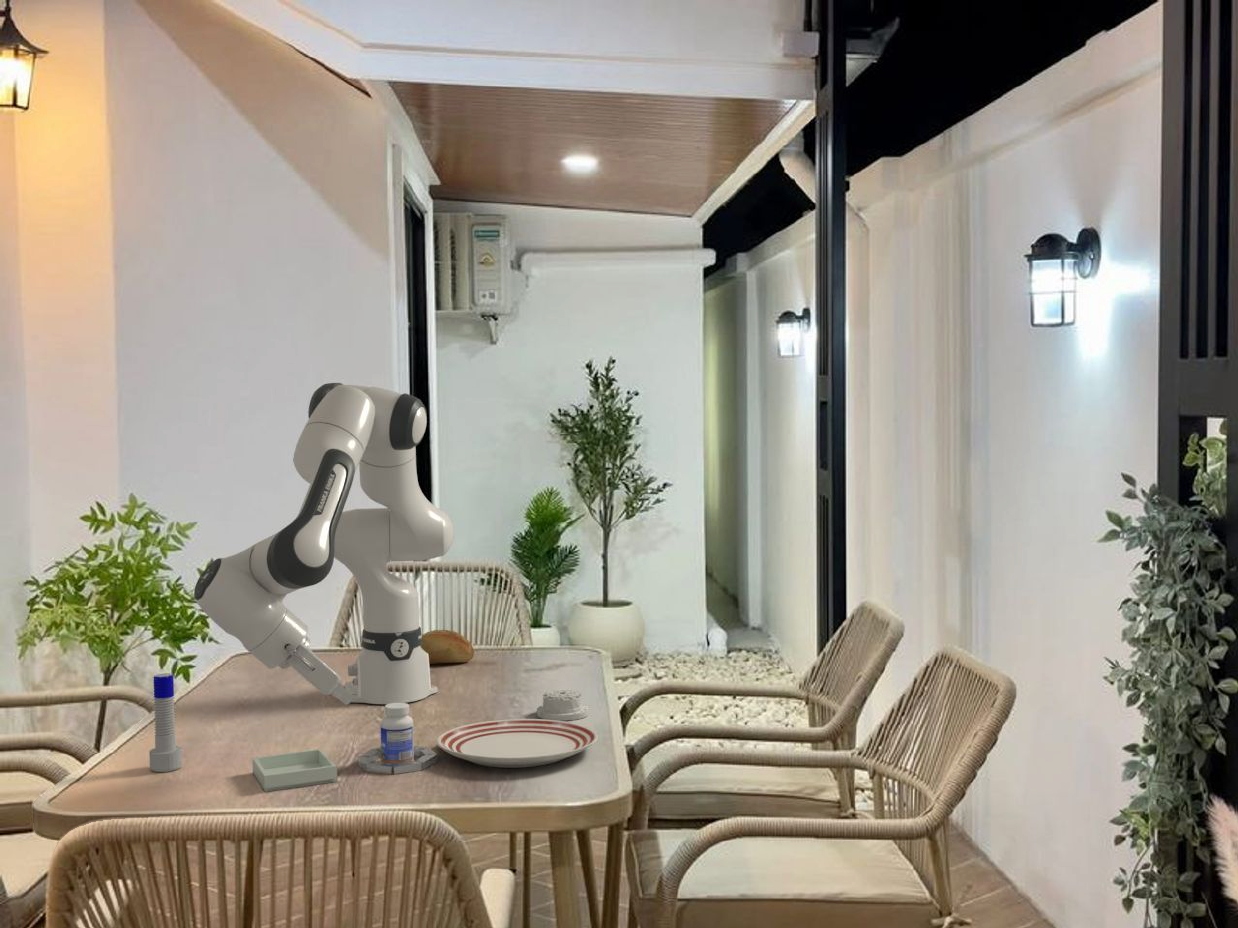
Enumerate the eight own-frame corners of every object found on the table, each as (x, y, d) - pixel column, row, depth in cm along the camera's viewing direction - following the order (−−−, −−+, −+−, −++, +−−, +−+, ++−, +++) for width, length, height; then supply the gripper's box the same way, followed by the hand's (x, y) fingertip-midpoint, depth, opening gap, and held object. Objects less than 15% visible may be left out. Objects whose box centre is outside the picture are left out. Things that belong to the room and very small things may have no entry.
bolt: (145, 773, 198) (155, 764, 203) (177, 772, 198) (185, 763, 203) (143, 678, 197) (152, 672, 202) (174, 677, 197) (183, 671, 202)
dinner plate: (452, 732, 222) (451, 714, 222) (601, 732, 221) (601, 714, 221) (423, 778, 194) (422, 757, 194) (593, 778, 193) (593, 757, 193)
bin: (252, 772, 197) (252, 757, 197) (321, 763, 202) (321, 748, 202) (264, 791, 187) (264, 775, 187) (337, 781, 192) (336, 765, 192)
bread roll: (474, 667, 278) (473, 632, 277) (408, 669, 276) (407, 634, 275) (474, 658, 287) (473, 625, 287) (410, 660, 285) (409, 627, 285)
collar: (352, 758, 205) (352, 751, 205) (422, 748, 210) (422, 741, 210) (370, 777, 194) (370, 770, 194) (443, 766, 200) (443, 759, 199)
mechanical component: (530, 721, 229) (581, 723, 227) (530, 698, 229) (581, 700, 227) (544, 708, 239) (593, 710, 237) (544, 686, 239) (593, 688, 237)
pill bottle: (383, 758, 205) (381, 701, 204) (415, 757, 205) (414, 700, 205) (379, 767, 199) (378, 709, 199) (412, 766, 200) (411, 708, 199)
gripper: (307, 636, 185) (372, 692, 190) (282, 616, 203) (342, 667, 208) (278, 668, 183) (344, 724, 188) (256, 645, 201) (316, 696, 206)
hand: (343, 694), depth 198 cm, fingers open, 8 cm apart
